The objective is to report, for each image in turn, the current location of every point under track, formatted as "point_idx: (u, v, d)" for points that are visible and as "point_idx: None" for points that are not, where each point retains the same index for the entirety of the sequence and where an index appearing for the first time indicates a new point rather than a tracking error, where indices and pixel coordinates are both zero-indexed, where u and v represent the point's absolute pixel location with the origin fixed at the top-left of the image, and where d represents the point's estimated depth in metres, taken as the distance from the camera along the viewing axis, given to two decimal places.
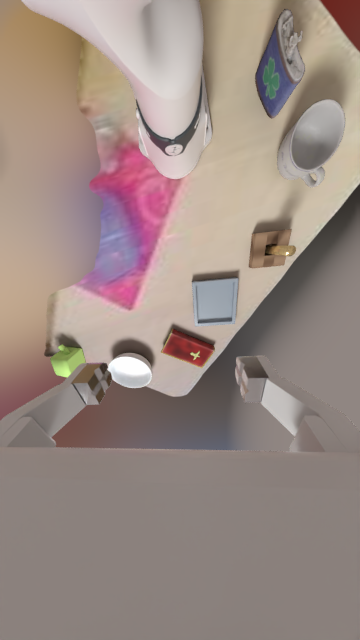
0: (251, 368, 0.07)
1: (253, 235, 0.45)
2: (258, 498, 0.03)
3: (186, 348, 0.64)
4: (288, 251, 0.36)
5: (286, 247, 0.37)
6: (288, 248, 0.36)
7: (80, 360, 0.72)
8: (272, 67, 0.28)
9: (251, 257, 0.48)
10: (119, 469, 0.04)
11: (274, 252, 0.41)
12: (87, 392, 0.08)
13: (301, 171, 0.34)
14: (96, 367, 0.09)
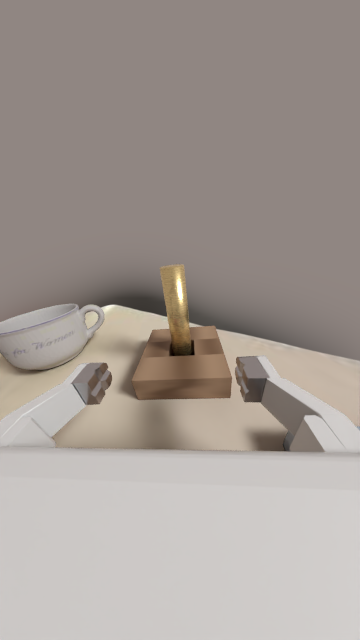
0: (251, 368, 0.07)
1: (139, 392, 0.16)
2: (258, 498, 0.03)
3: None
4: (171, 266, 0.14)
5: (162, 275, 0.14)
6: (164, 267, 0.14)
7: None
8: None
9: (198, 388, 0.15)
10: (119, 469, 0.04)
11: (181, 319, 0.16)
12: (87, 392, 0.08)
13: (61, 320, 0.20)
14: (96, 367, 0.09)
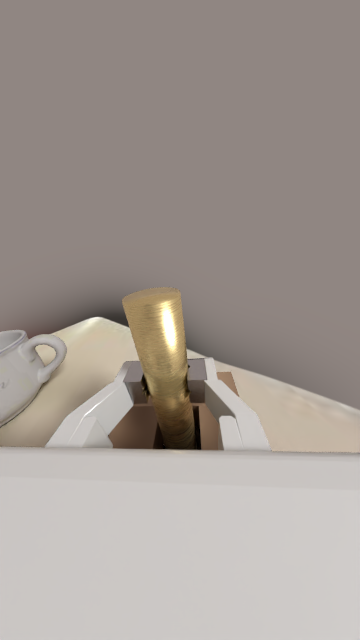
0: (194, 370, 0.07)
1: None
2: (258, 498, 0.03)
3: None
4: (150, 298, 0.06)
5: (128, 319, 0.06)
6: (131, 301, 0.06)
7: None
8: None
9: None
10: (119, 469, 0.04)
11: (175, 401, 0.07)
12: (138, 391, 0.08)
13: None
14: None
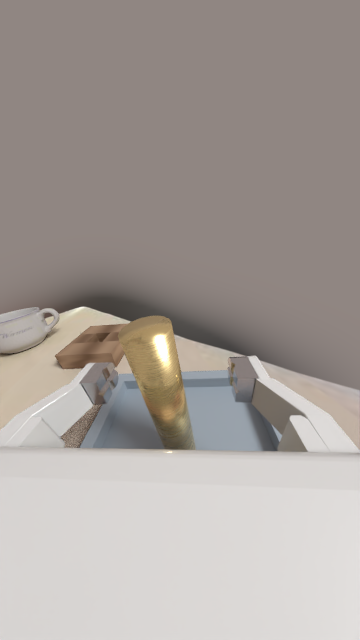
0: (241, 368, 0.07)
1: (62, 363, 0.25)
2: (258, 498, 0.03)
3: None
4: (143, 332, 0.06)
5: (125, 352, 0.06)
6: (126, 337, 0.06)
7: None
8: None
9: (95, 360, 0.24)
10: (119, 469, 0.04)
11: (172, 419, 0.08)
12: (95, 392, 0.08)
13: (21, 319, 0.30)
14: (103, 367, 0.08)
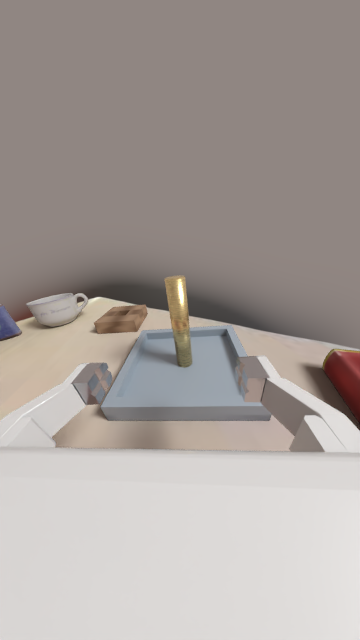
0: (251, 368, 0.07)
1: (98, 329, 0.35)
2: (258, 498, 0.03)
3: None
4: (174, 278, 0.17)
5: (167, 285, 0.17)
6: (168, 279, 0.16)
7: None
8: None
9: (122, 326, 0.35)
10: (119, 469, 0.04)
11: (182, 322, 0.18)
12: (87, 392, 0.08)
13: (64, 300, 0.40)
14: (96, 367, 0.09)
